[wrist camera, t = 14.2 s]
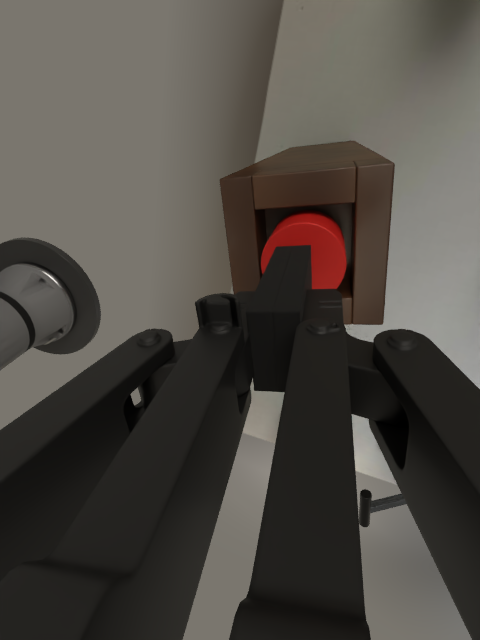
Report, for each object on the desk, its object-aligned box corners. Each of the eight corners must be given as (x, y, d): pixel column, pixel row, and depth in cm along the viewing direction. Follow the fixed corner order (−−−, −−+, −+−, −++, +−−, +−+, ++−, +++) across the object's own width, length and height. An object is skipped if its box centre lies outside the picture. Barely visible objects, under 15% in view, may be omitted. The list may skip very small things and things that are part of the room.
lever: (355, 516, 53) (363, 531, 51) (356, 487, 51) (365, 502, 48) (438, 495, 55) (449, 509, 53) (443, 466, 52) (455, 480, 50)
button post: (292, 211, 51) (237, 324, 21) (289, 147, 47) (219, 178, 18) (352, 206, 49) (383, 325, 19) (354, 140, 45) (395, 162, 16)
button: (272, 282, 21) (263, 304, 19) (267, 212, 19) (257, 225, 17) (344, 281, 20) (345, 303, 18) (345, 206, 18) (347, 219, 16)
